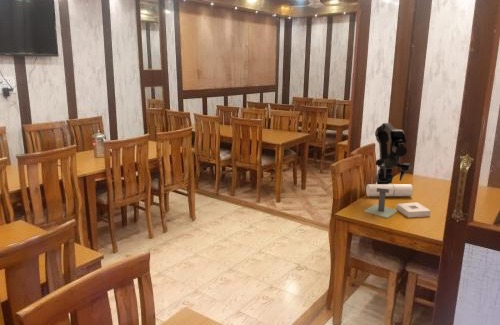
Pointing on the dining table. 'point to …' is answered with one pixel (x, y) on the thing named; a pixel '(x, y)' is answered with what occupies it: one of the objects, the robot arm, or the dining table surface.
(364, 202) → the dining table surface
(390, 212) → the pad
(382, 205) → the t key
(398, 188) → the cylindrical container
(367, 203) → the dining table surface
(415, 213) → the socket block
